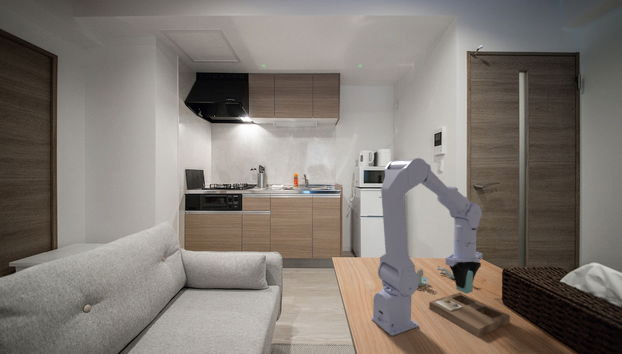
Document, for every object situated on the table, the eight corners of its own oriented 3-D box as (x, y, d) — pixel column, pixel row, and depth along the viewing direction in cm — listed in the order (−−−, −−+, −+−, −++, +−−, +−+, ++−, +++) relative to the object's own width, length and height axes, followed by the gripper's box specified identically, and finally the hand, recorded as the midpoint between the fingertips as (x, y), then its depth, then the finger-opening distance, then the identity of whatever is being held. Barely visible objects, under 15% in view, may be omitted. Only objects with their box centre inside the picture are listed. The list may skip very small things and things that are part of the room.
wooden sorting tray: (478, 337, 60) (478, 327, 60) (429, 308, 73) (429, 300, 73) (509, 322, 67) (510, 313, 67) (459, 298, 79) (459, 291, 79)
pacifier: (403, 284, 90) (418, 290, 85) (403, 267, 90) (418, 272, 85) (414, 279, 94) (430, 285, 89) (414, 263, 94) (429, 267, 89)
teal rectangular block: (466, 293, 72) (466, 273, 72) (456, 289, 75) (456, 269, 75) (472, 291, 74) (472, 271, 73) (462, 287, 76) (463, 268, 76)
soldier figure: (446, 274, 101) (477, 274, 92) (444, 285, 98) (476, 286, 89) (435, 262, 100) (465, 262, 90) (432, 273, 97) (464, 273, 87)
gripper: (462, 247, 67) (461, 296, 68) (493, 241, 74) (492, 286, 74) (439, 241, 74) (438, 285, 74) (469, 236, 80) (468, 277, 80)
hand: (463, 285), depth 74 cm, fingers closed on teal rectangular block, 3 cm apart
